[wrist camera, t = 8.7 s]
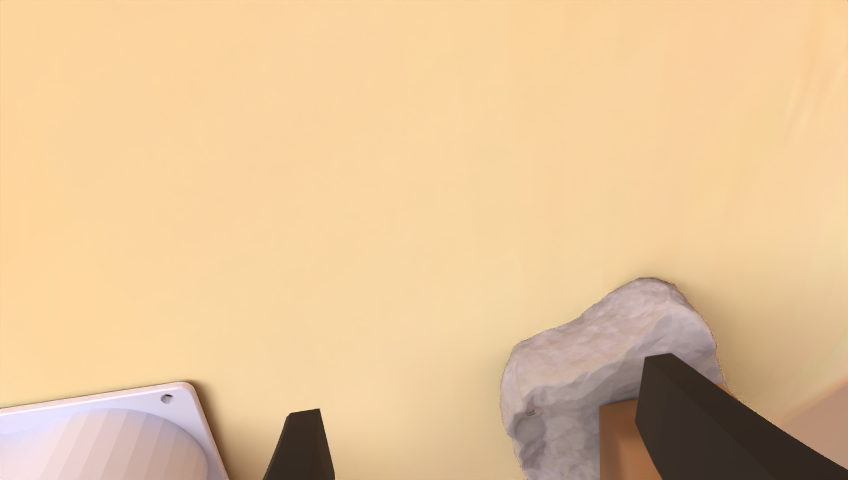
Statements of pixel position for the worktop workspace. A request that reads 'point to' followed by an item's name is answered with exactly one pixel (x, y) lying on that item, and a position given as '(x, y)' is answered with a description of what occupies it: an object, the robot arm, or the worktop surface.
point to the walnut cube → (625, 444)
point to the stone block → (594, 374)
